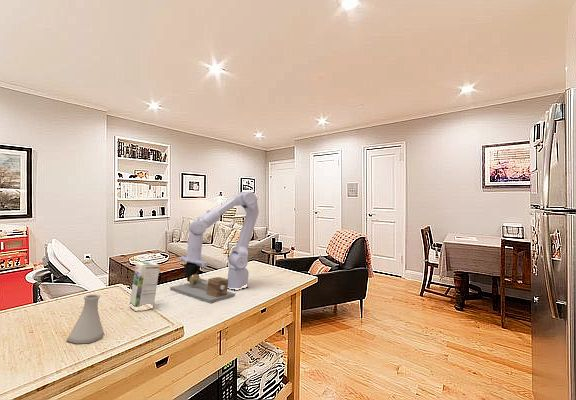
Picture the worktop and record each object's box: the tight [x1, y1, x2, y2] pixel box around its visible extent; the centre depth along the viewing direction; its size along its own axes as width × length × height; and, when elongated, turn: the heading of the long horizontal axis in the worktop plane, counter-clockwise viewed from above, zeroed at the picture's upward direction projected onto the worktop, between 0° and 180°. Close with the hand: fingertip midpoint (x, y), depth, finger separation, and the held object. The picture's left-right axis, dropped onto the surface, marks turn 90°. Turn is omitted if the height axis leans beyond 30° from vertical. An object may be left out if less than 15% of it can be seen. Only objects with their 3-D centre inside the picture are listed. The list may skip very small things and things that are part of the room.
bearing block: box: [207, 276, 229, 297], centre depth 112 cm, size 6×5×6 cm
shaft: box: [188, 273, 225, 290], centre depth 115 cm, size 4×17×4 cm, turn 61°
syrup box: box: [129, 260, 161, 307], centre depth 92 cm, size 6×6×14 cm
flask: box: [66, 293, 105, 344], centre depth 69 cm, size 7×7×10 cm
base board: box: [169, 282, 236, 304], centre depth 116 cm, size 14×22×1 cm, turn 61°
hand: (190, 281), depth 120 cm, fingers closed
